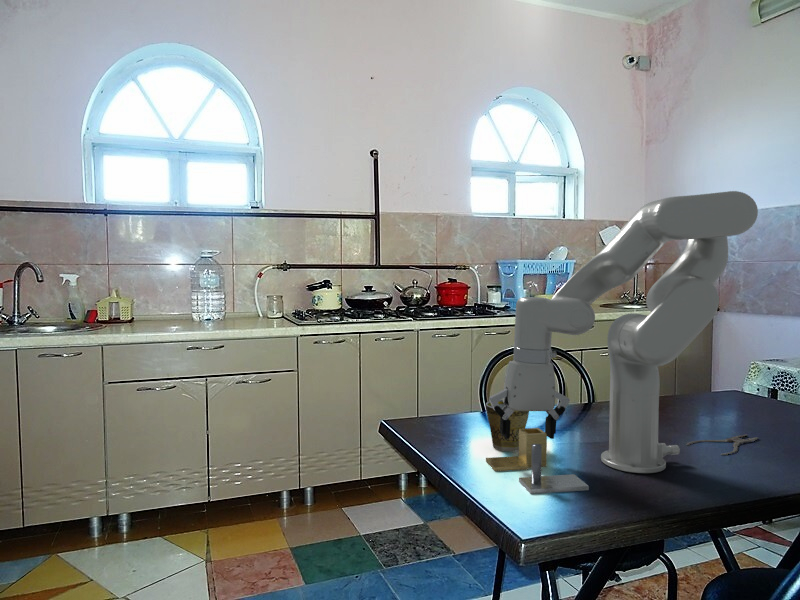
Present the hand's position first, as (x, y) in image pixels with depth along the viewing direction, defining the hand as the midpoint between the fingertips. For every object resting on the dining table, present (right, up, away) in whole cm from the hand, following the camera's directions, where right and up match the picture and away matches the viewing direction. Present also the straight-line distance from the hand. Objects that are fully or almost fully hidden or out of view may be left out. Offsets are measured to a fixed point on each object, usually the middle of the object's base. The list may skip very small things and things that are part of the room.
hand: (527, 437), depth 118 cm
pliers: (+49, -6, +14) cm, 52 cm away
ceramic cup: (-2, -5, +13) cm, 14 cm away
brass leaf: (-2, -6, 0) cm, 6 cm away
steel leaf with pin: (+2, -6, -12) cm, 13 cm away
